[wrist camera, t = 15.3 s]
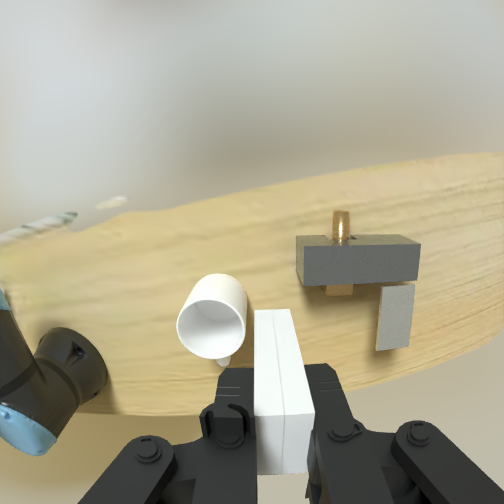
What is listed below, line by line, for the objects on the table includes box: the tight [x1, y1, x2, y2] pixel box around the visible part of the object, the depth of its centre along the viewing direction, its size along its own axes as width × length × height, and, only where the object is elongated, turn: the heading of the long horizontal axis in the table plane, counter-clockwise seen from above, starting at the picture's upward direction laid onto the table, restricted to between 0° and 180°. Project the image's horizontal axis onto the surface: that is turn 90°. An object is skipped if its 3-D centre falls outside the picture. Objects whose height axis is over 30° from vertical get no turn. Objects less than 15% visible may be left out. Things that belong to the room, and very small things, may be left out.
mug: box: [176, 274, 247, 367], centre depth 41 cm, size 12×8×10 cm
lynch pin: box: [323, 211, 353, 296], centre depth 42 cm, size 12×4×2 cm, turn 1°
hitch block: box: [296, 235, 421, 286], centre depth 40 cm, size 16×5×7 cm, turn 91°
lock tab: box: [375, 284, 415, 351], centre depth 38 cm, size 5×9×1 cm, turn 1°
